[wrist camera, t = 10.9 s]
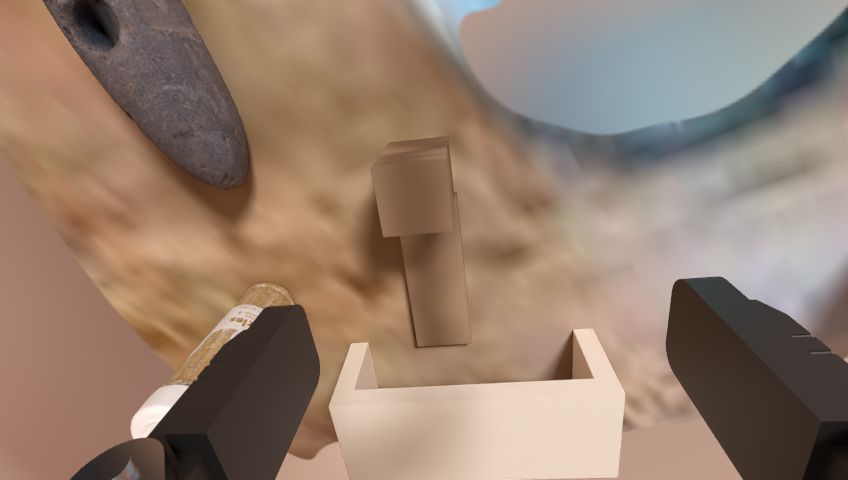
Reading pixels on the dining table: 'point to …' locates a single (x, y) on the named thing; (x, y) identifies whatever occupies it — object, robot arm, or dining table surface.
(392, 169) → the brown l-shaped block
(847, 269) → the dining table surface
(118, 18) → the perforated stone tool
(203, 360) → the sprinkles bottle
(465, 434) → the shelf
